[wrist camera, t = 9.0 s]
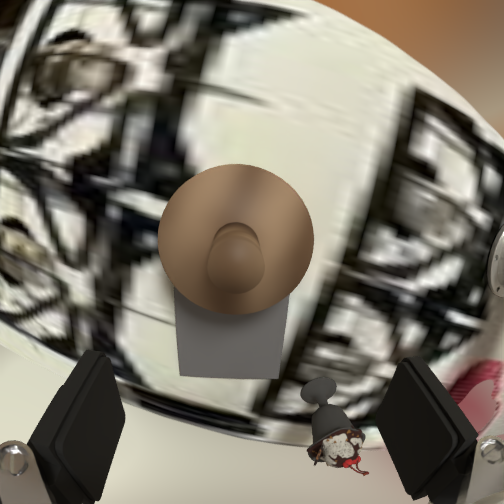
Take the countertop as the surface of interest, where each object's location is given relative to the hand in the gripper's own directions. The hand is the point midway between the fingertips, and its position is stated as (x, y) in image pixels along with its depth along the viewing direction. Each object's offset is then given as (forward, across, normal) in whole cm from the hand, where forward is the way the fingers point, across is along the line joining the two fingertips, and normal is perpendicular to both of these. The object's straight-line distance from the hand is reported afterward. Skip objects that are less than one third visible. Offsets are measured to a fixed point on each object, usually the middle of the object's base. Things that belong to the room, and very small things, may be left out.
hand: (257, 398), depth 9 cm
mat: (+22, +1, +12) cm, 26 cm away
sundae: (+23, -11, +21) cm, 33 cm away
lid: (+17, +1, 0) cm, 17 cm away
